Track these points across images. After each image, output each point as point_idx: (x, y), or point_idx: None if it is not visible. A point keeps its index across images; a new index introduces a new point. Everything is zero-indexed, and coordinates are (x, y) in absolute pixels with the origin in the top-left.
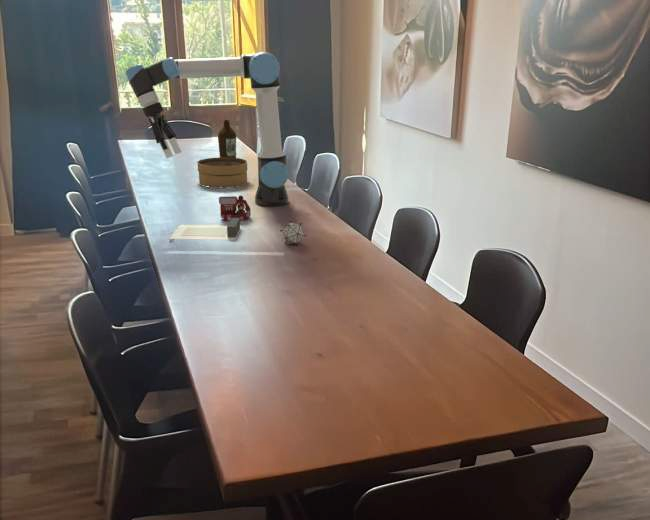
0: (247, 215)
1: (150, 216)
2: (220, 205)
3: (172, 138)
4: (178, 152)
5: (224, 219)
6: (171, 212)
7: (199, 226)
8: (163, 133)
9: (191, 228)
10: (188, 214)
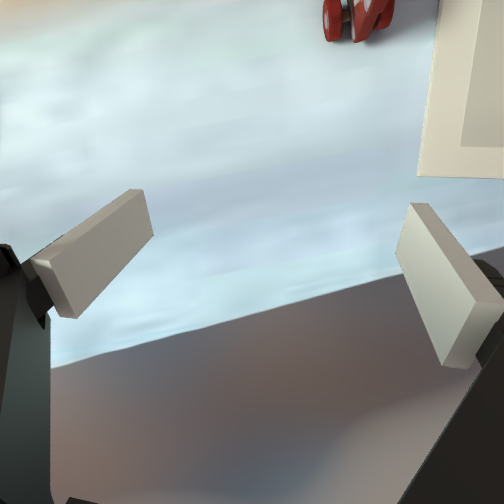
0: None
1: (291, 288)
2: (371, 16)
3: (62, 280)
4: (143, 213)
5: (389, 23)
6: (246, 236)
7: (446, 107)
8: (471, 394)
9: (471, 129)
10: (268, 178)
